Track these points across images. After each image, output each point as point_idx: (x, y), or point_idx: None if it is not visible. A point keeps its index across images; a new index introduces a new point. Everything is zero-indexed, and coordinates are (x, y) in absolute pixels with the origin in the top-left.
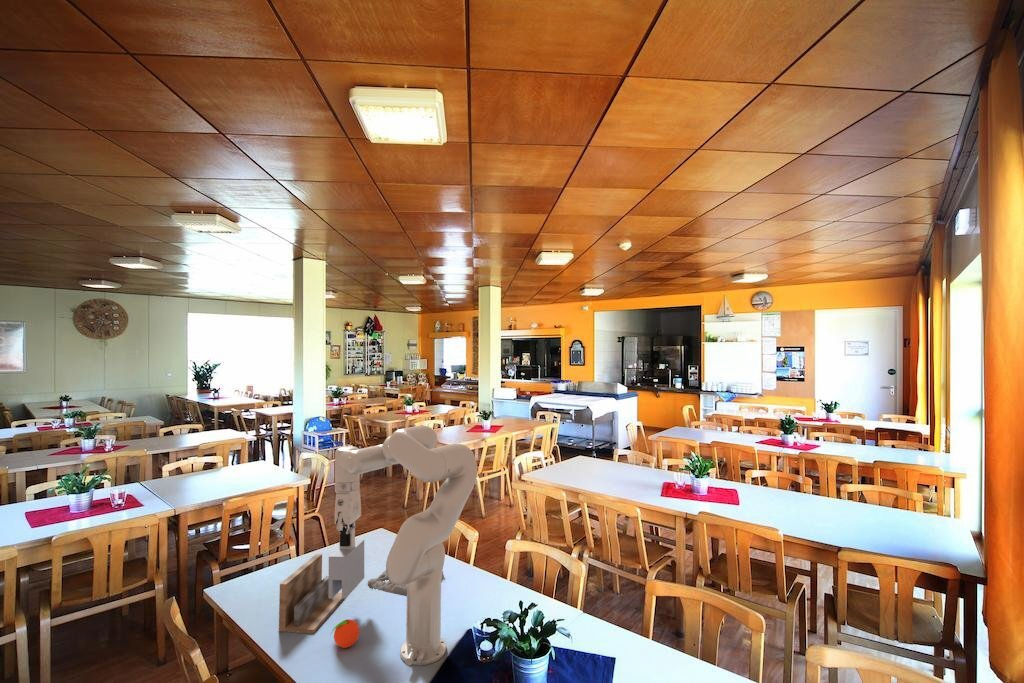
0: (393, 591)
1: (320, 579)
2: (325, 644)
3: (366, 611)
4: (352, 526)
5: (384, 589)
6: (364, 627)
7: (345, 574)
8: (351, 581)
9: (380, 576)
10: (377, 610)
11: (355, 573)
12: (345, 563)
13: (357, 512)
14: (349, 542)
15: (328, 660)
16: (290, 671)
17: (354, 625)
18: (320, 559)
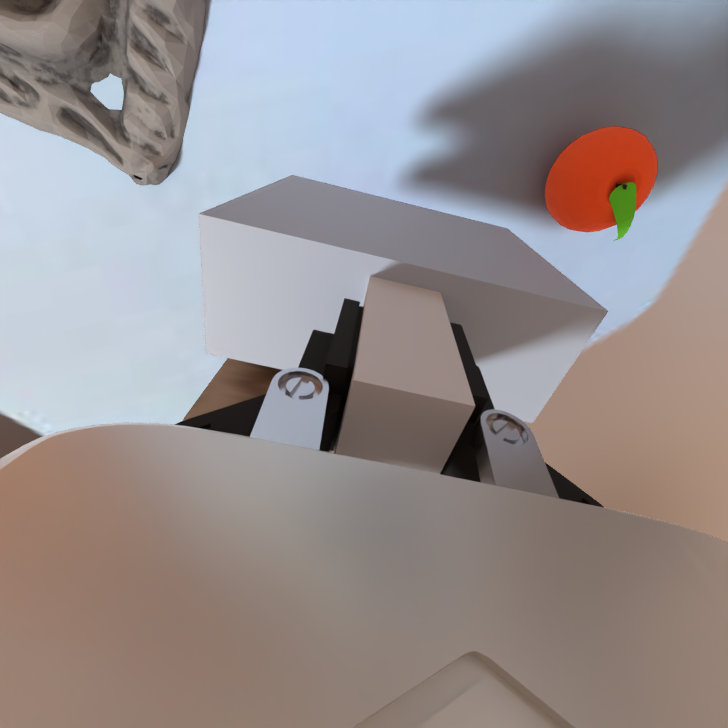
0: (198, 26)
1: (234, 362)
2: (539, 253)
3: (359, 145)
4: (326, 417)
5: (185, 87)
6: (475, 129)
7: (550, 264)
8: (453, 224)
9: (76, 132)
10: (355, 92)
11: (403, 216)
12: (580, 290)
13: (311, 689)
14: (464, 340)
15: (634, 222)
16: (634, 315)
17: (640, 147)
18: (206, 409)
